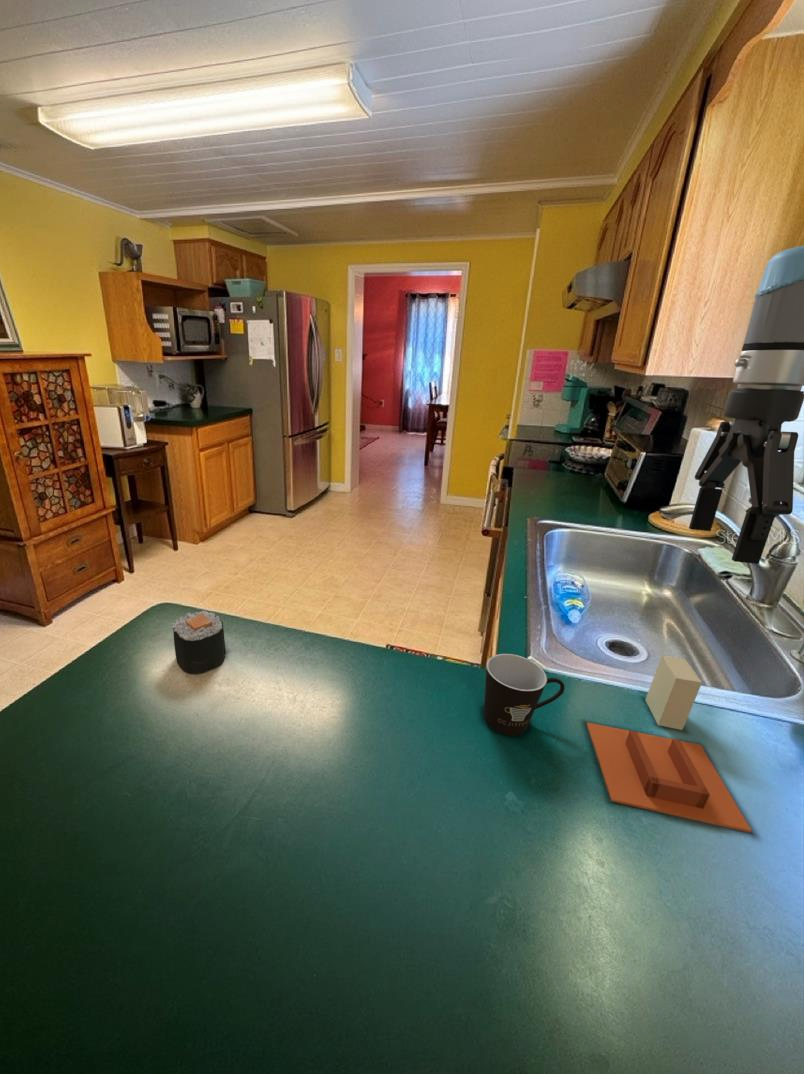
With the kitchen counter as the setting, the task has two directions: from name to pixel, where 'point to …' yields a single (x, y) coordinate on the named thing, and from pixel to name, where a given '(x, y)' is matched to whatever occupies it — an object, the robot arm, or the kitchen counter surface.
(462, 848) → the kitchen counter surface
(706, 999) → the kitchen counter surface
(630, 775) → the base pad
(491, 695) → the coffee mug
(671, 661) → the block
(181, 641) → the sushi
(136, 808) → the kitchen counter surface
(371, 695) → the kitchen counter surface
